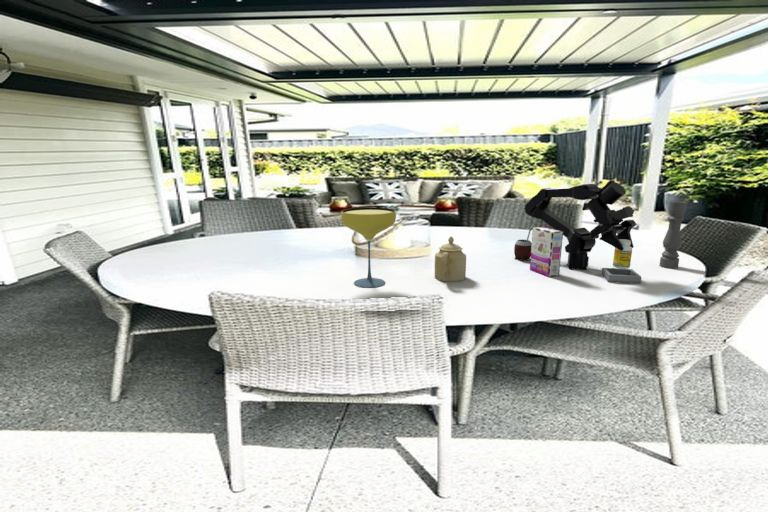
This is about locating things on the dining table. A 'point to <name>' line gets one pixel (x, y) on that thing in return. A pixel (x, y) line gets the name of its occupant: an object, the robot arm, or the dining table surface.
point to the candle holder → (673, 235)
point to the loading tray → (621, 275)
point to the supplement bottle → (623, 255)
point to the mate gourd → (523, 248)
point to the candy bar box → (546, 251)
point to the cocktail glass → (368, 232)
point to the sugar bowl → (450, 262)
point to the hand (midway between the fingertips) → (627, 248)
